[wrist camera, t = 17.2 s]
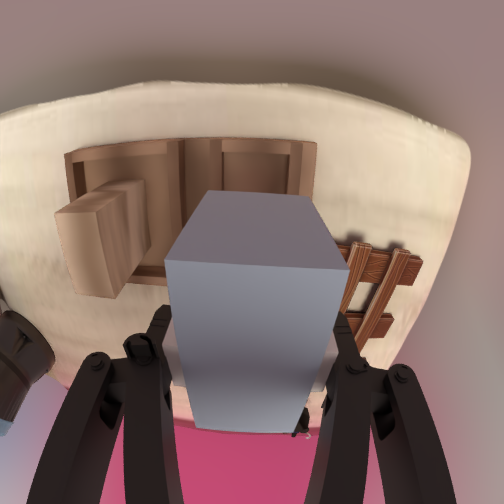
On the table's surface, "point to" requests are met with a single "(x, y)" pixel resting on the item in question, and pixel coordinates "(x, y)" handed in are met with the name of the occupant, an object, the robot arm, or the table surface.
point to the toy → (302, 424)
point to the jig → (190, 180)
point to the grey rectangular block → (253, 307)
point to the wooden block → (105, 236)
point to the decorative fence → (388, 275)
